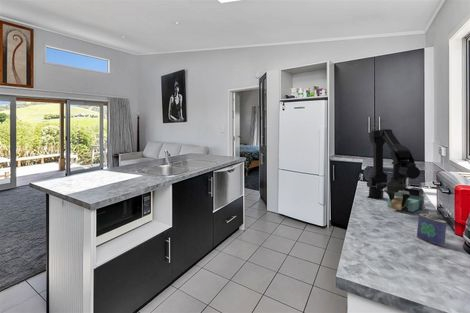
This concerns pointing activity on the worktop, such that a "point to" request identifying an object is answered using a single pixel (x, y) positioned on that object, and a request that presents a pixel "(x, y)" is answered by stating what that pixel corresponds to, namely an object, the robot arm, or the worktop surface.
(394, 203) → the oak peg
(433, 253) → the worktop surface
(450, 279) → the worktop surface
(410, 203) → the slot block
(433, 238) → the flask
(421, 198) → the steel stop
